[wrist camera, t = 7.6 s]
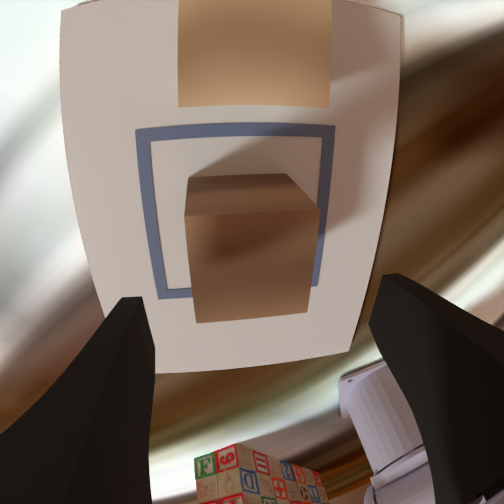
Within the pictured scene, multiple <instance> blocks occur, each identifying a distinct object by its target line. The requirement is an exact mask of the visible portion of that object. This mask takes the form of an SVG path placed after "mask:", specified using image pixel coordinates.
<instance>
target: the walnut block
mask: <svg viewBox="0 0 504 504" xmlns="http://www.w3.org/2000/svg"><path fill="white" fill-rule="evenodd" d="M320 210H321V209H320V208H319V207H318V206H317V205H316V204H315V203H314V202H313V201H312V200H311V199H310V197H309V196H308V195H307V194H306V193H305V192H304V191H303V190H302V189H301V188H300V187H299V186H298V185H297V184H296V183H295V182H294V181H293V180H292V179H291V178H290V177H289V176H288V175H287V174H286V173H280V174H244V175H221V176H204V177H189V178H188V183H187V192H186V201H185V212H184V222H185V233H186V243H187V253H188V262H189V271H190V279H191V288H192V296H193V304H194V311H195V319H196V323H209V322H222V321H233V320H244V319H254V318H264V317H273V316H282V315H290V314H299V313H307V311H308V304H309V298H310V291H311V284H312V277H313V269H314V262H315V254H316V246H317V237H318V229H319V220H320Z"/></svg>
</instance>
